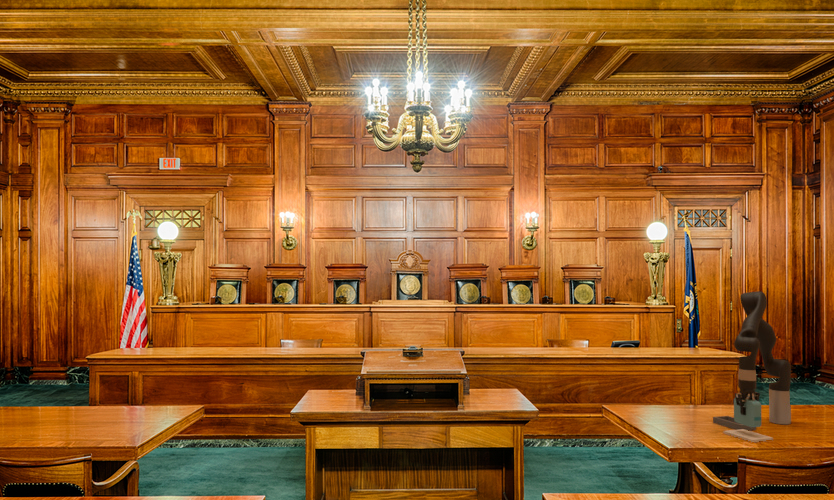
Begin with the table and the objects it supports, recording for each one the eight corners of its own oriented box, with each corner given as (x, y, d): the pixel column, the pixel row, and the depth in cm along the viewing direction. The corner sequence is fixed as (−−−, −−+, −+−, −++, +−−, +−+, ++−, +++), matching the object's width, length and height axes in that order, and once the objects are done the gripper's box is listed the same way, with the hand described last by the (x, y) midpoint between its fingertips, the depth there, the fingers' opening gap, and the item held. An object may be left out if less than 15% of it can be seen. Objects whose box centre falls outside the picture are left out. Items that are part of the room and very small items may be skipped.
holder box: (727, 421, 302) (727, 415, 302) (756, 429, 286) (756, 423, 286) (713, 422, 298) (713, 417, 299) (741, 431, 282) (741, 425, 283)
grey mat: (743, 431, 282) (743, 429, 282) (773, 440, 267) (773, 437, 267) (723, 433, 278) (723, 430, 278) (752, 442, 263) (752, 439, 263)
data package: (761, 427, 268) (761, 401, 268) (753, 428, 266) (753, 402, 267) (741, 421, 279) (741, 396, 280) (733, 421, 278) (733, 396, 279)
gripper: (751, 376, 280) (751, 411, 279) (729, 378, 275) (729, 413, 274) (765, 379, 273) (765, 415, 272) (743, 380, 268) (743, 417, 267)
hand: (747, 414), depth 273 cm, fingers closed on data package, 4 cm apart
